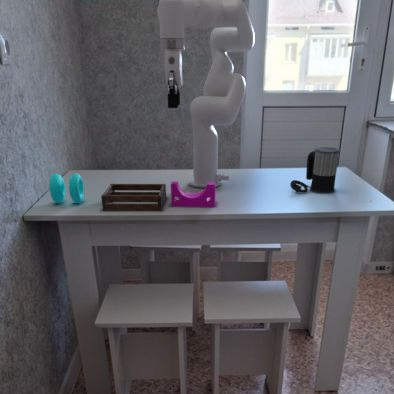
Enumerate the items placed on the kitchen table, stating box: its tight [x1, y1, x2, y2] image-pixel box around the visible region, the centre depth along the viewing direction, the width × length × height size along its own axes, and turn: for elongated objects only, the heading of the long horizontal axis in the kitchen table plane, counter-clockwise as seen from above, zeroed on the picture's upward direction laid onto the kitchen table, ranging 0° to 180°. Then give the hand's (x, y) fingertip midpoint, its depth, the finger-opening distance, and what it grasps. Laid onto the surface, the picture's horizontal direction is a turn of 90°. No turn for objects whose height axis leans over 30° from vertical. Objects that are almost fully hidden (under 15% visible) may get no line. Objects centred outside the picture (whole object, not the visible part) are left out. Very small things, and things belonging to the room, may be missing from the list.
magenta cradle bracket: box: [170, 181, 217, 208], centre depth 170 cm, size 15×6×8 cm, turn 85°
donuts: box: [49, 173, 85, 204], centre depth 171 cm, size 10×10×10 cm
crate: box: [100, 183, 167, 212], centre depth 171 cm, size 20×17×5 cm
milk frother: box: [289, 146, 341, 194], centre depth 182 cm, size 14×16×15 cm
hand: (174, 106), depth 162 cm, fingers open, 9 cm apart
